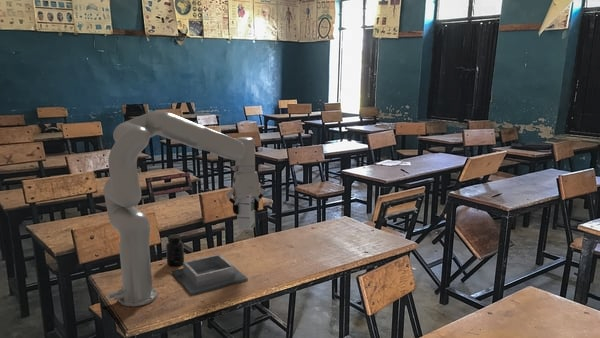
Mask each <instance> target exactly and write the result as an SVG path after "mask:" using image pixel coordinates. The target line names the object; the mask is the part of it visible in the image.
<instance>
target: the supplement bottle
mask: <svg viewBox="0 0 600 338" xmlns="http://www.w3.org/2000/svg"><path fill="white" fill-rule="evenodd" d="M165 251H166V264H167V266H168V267H171V268H177V267H181V266H183V262H185V252H184V243H183V242H182V241H181V235H180V234H170V235H168V237H167V242H166V245H165Z"/></svg>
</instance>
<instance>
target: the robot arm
mask: <svg viewBox="0 0 600 338" xmlns="http://www.w3.org/2000/svg"><path fill="white" fill-rule="evenodd" d="M155 136H160V137H163V138H165V139H169V140H171V141H174V142H175V143H180V144H182V145H185V146H187V147H191V148H194V149H197V150H202V151H206V152H209V153H212V154H216V155H217V156H218V157H221V158H224V159H228V160H231V161H235V165H234V167H232V171H233V178H232V189H230V190H229V191H228V192H227V193H226V194H225V197H226V199H227V201H229V202H230V203H231V204H232V213H233V214H234V215H236V216H237V215H238V214H239V206H238V205H237V203H238V201H239V200H240V199H246V198H247V194H251V197H252V198H253V197H255V212H259V208H260V201H261V199H262V198H263V197H264V194H265V192H266V189H264V188H263V187H261V186H260V180H259V175H258V171H256V145H255V139H254V138H253V137H250V136H241V137H236V138H235V137H231V136H229V135H226V134H224V133H221V132H219V131H216V130H214V129H211V128H209V127H207V126H205V125H202V124H199V123H197V122H193V121H191V120H189V119H186V118H185V117H182V116H179V115H177V114H175V113H173V112H172V113H171V112H169V111H164V110H152V111H150V112H147V113H144V114H142V115H139V116H136V117H134V118H131V119H129V120H126V121H123V122H122V123H119V124H118V125H117V126H115V128H114V130H113V135H112V137H113V140H114V144H113V146H112V147H111V149H110V151H109V154H108V159H107V160H108V162H107V163H108V171H109V178H108V179H107V180H106V182H105V183H104V187H103V195H104V201H105V206H106V210H107V216H108V220H109V223H110V225H111V226H112V228H114V230H116V232H118V233H119V235H120V239H119V259H120V270H121V281H122V285H120V288H119V289H117V291H111V292H108V293H107V295H108V299H109V300H110V299H113V300H114V301H115V300H116V301H117V300H118V303H119V304H120V303H121V304H120V305H122V306H124V307H130V306H131V308H132V307H140V306H145V305H149V304H150V303H152V302H154V301H155V300H156V299H157V297H158V291H157V289H155V288H154V287H153V277H152V264H151V263H152V262H151V253H150V251H151V249H150V235H151V234H150V233H151V223H150V220H149V218H148V217H147V215H146V214H145V213H144V212H142V211H141V210H139V209H138V208H137V207H136V206H137V205H138V204H139V203H140V201H141V199H142V188H141V185H140V179H139V178H140V177H139V173H138V164H137V162H138V158H139V155H140V154H141V152H142V151H143V150H145V148H146V147H147V146H148V145H149V142H150V139H151V138H153V137H155ZM232 196H233V197H232Z"/></svg>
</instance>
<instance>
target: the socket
mask: <svg viewBox="0 0 600 338" xmlns="http://www.w3.org/2000/svg"><path fill="white" fill-rule="evenodd" d="M171 274H172V275H173V276H174V277H175V279H176V280H177V281H178V282H179V283H180V284H181V285H182V287H183V288H184V289H185V290H186V292H187V293H188V294H189V295H190V296H194V295H198V294H203V293H207V292H210V291H213V290H218V289H222V288H224V287H225V288H226V287H229V286H232V285H236V284H240V283H244V282H248V280H249V277H247V276H246V275H245V274H243V273H242V272H241V271H240V270H239V269H237V268H236V266H234V265H233V264H232V263H231V262H230V261H228V260H227V259H226V258H225V257H224V256H223V255H222V254H220V253H219V254H215V255H210V256H205V257H201V258H195V259H191V260H187V261H184V262H183V265H182V268H179V269H173V270H171Z"/></svg>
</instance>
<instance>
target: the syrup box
mask: <svg viewBox="0 0 600 338" xmlns="http://www.w3.org/2000/svg"><path fill="white" fill-rule="evenodd" d="M237 205H238V206H239V214H238V215H236V219H237V220H236V221H237V223H236V224H237V229H238V230H242V231H243V230H244V231H252V230H253V228H255V227H256V211H255V197H253V198H252V197H251V194H247V198H246V199H240V200H239V201H238V203H237Z"/></svg>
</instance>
